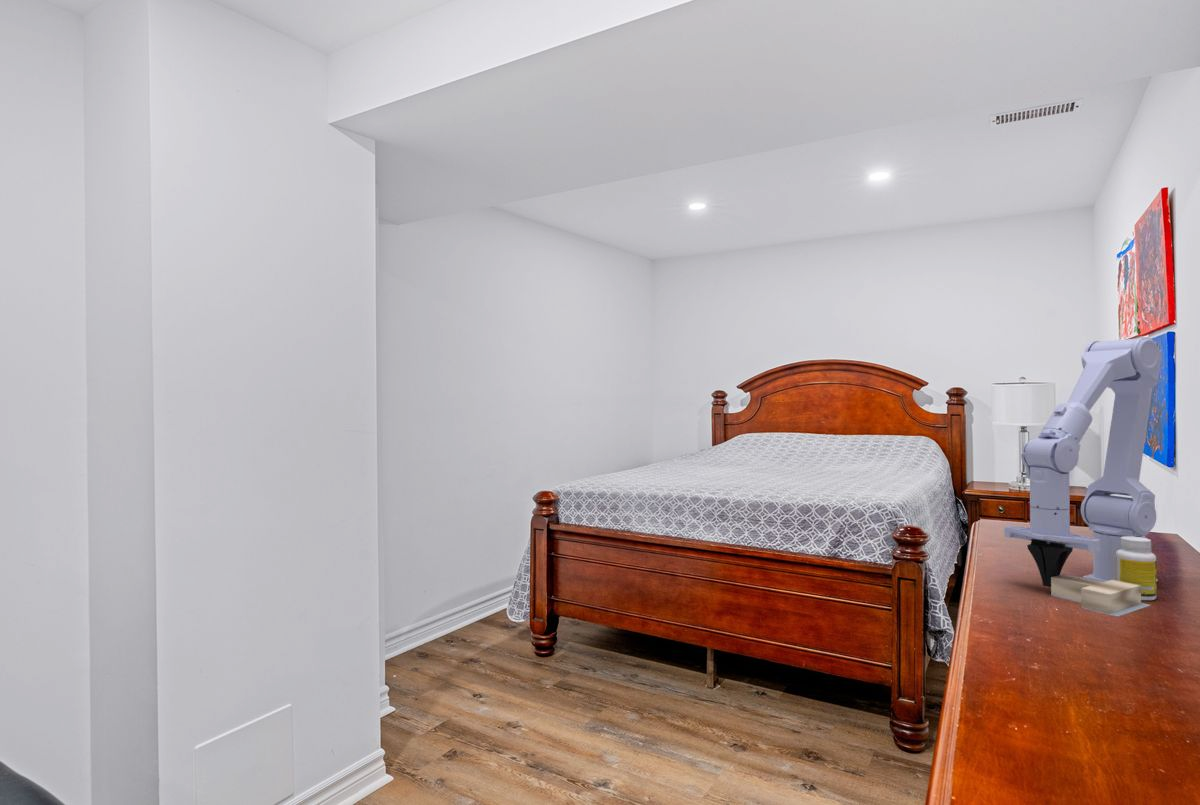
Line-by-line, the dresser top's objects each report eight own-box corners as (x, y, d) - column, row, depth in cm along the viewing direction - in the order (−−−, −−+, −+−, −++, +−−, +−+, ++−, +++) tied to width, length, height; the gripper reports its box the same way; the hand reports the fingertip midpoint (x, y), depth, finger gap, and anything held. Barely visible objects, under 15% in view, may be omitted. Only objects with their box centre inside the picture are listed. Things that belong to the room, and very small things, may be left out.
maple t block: (1073, 588, 117) (1072, 571, 117) (1141, 603, 109) (1140, 585, 109) (1041, 597, 112) (1041, 579, 112) (1109, 613, 104) (1109, 594, 104)
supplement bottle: (1164, 602, 109) (1164, 542, 109) (1126, 600, 111) (1126, 541, 111) (1144, 592, 115) (1144, 535, 115) (1108, 591, 116) (1108, 534, 116)
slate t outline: (1075, 590, 118) (1075, 588, 118) (1151, 606, 108) (1151, 605, 108) (1041, 600, 112) (1041, 598, 112) (1117, 618, 103) (1117, 616, 103)
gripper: (994, 503, 120) (994, 579, 120) (1084, 515, 108) (1084, 599, 108) (1016, 500, 124) (1017, 573, 124) (1106, 511, 111) (1107, 593, 111)
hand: (1050, 585), depth 116 cm, fingers closed
